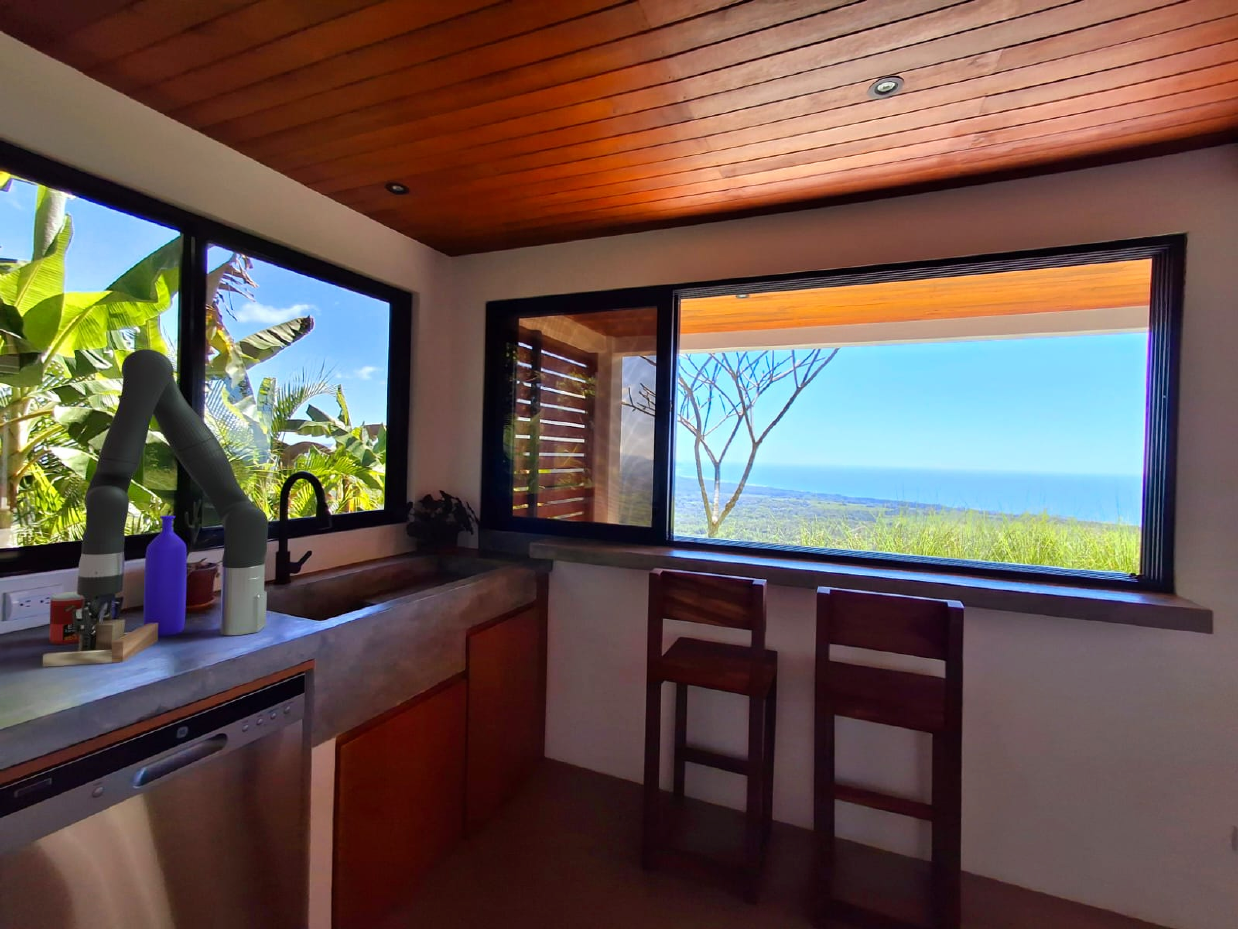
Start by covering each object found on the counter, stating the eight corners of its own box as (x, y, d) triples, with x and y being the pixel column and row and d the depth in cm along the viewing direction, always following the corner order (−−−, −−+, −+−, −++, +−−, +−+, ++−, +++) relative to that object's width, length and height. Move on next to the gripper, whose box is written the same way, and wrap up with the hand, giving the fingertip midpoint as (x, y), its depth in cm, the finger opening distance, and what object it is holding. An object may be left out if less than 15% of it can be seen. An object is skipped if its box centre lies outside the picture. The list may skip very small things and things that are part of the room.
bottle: (191, 630, 140) (195, 515, 140) (153, 639, 133) (156, 518, 133) (174, 625, 144) (177, 513, 144) (135, 634, 136) (139, 516, 136)
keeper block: (122, 649, 125) (125, 619, 125) (110, 656, 121) (112, 625, 121) (91, 650, 124) (93, 620, 124) (77, 657, 119) (80, 625, 119)
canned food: (65, 646, 127) (66, 599, 127) (39, 642, 128) (41, 596, 128) (102, 636, 134) (103, 592, 134) (77, 633, 136) (79, 589, 136)
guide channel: (157, 641, 131) (158, 622, 131) (122, 661, 118) (123, 641, 118) (87, 645, 127) (87, 626, 127) (42, 666, 114) (43, 645, 114)
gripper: (101, 578, 117) (95, 657, 116) (139, 567, 130) (134, 637, 130) (58, 578, 114) (52, 659, 114) (101, 566, 128) (96, 638, 128)
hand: (96, 647), depth 122 cm, fingers closed on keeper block, 4 cm apart
